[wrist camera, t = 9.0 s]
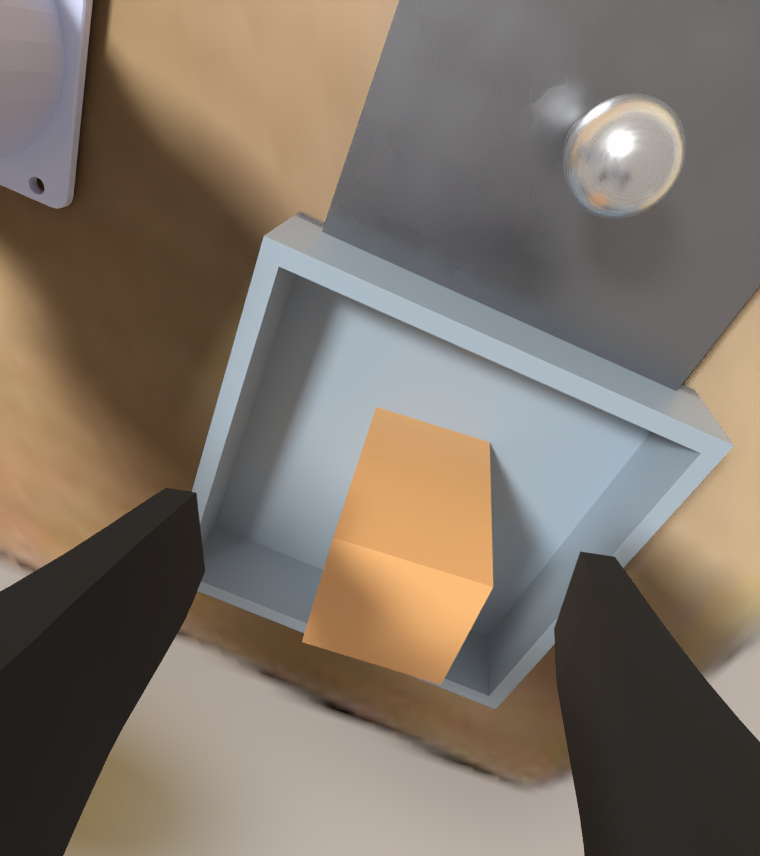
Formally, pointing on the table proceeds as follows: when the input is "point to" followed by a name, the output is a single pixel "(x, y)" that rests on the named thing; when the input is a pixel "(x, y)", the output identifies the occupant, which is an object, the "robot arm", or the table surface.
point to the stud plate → (511, 189)
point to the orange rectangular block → (408, 550)
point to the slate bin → (442, 406)
